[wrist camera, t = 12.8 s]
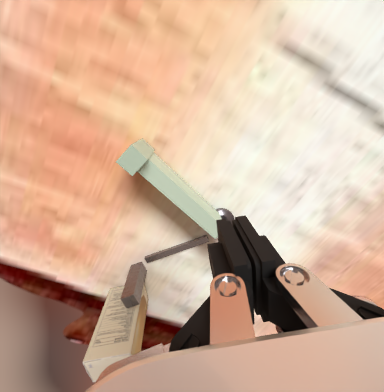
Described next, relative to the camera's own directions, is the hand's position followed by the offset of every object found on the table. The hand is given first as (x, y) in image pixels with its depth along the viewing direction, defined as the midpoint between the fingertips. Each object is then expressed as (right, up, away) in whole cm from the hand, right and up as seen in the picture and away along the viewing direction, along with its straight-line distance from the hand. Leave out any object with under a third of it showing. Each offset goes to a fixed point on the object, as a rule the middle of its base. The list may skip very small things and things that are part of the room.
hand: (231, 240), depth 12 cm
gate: (-4, +4, +18) cm, 19 cm away
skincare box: (-14, -15, +26) cm, 33 cm away
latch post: (-6, -8, +23) cm, 25 cm away
